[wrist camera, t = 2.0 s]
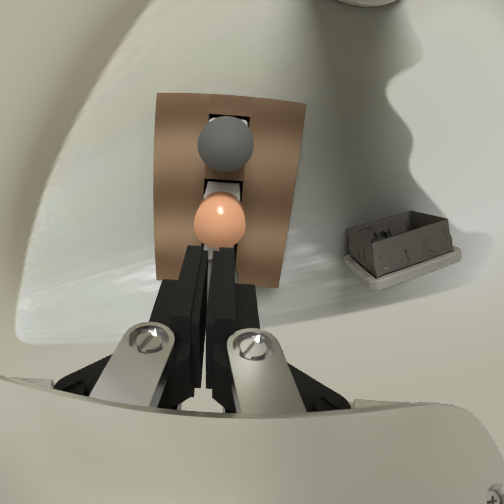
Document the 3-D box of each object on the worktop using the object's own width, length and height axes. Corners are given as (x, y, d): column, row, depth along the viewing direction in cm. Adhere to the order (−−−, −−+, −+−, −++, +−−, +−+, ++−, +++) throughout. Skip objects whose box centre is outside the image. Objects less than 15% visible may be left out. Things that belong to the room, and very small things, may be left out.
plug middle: (203, 176, 23) (194, 199, 18) (244, 178, 24) (247, 203, 18) (201, 214, 25) (193, 247, 20) (241, 217, 25) (243, 250, 20)
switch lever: (208, 112, 21) (199, 115, 16) (251, 115, 21) (256, 119, 16) (204, 153, 22) (195, 170, 17) (247, 156, 23) (250, 174, 18)
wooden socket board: (167, 93, 23) (156, 93, 20) (296, 103, 24) (306, 104, 21) (164, 258, 31) (156, 280, 27) (273, 265, 32) (278, 287, 28)
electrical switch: (342, 262, 32) (374, 310, 24) (333, 217, 30) (367, 253, 22) (417, 238, 31) (464, 275, 23) (412, 195, 29) (464, 221, 21)
